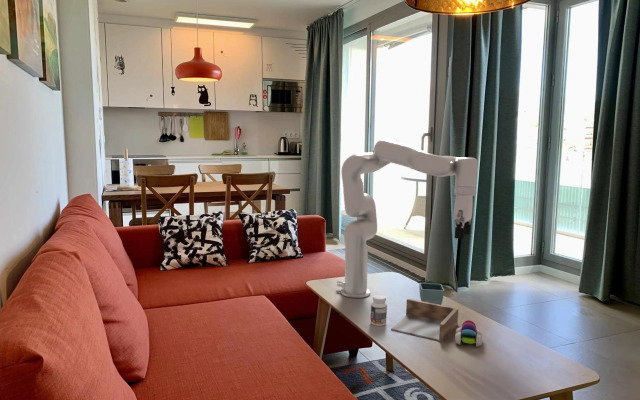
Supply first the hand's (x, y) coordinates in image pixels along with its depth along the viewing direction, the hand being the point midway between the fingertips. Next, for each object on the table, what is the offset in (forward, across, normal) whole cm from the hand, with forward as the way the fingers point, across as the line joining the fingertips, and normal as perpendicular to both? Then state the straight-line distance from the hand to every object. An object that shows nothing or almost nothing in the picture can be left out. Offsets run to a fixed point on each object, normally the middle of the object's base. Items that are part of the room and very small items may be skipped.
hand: (462, 236), depth 184 cm
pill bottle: (+31, +25, -22) cm, 45 cm away
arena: (+31, +19, -7) cm, 37 cm away
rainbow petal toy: (+31, +24, +10) cm, 40 cm away
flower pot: (+31, -1, -11) cm, 33 cm away
